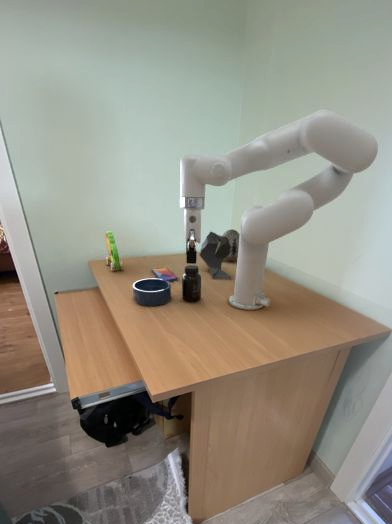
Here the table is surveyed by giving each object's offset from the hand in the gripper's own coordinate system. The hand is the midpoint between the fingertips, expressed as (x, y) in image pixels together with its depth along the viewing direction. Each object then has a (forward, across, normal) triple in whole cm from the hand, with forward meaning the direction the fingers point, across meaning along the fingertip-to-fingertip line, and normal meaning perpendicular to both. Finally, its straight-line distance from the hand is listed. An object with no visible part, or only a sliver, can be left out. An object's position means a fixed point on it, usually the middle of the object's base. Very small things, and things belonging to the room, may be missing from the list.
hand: (190, 259), depth 100 cm
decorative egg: (+15, +49, -21) cm, 55 cm away
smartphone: (+15, +25, +11) cm, 31 cm away
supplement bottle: (+15, 0, -1) cm, 15 cm away
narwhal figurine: (+15, +30, -12) cm, 35 cm away
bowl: (+15, 0, +14) cm, 20 cm away
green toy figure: (+16, +37, +34) cm, 53 cm away
